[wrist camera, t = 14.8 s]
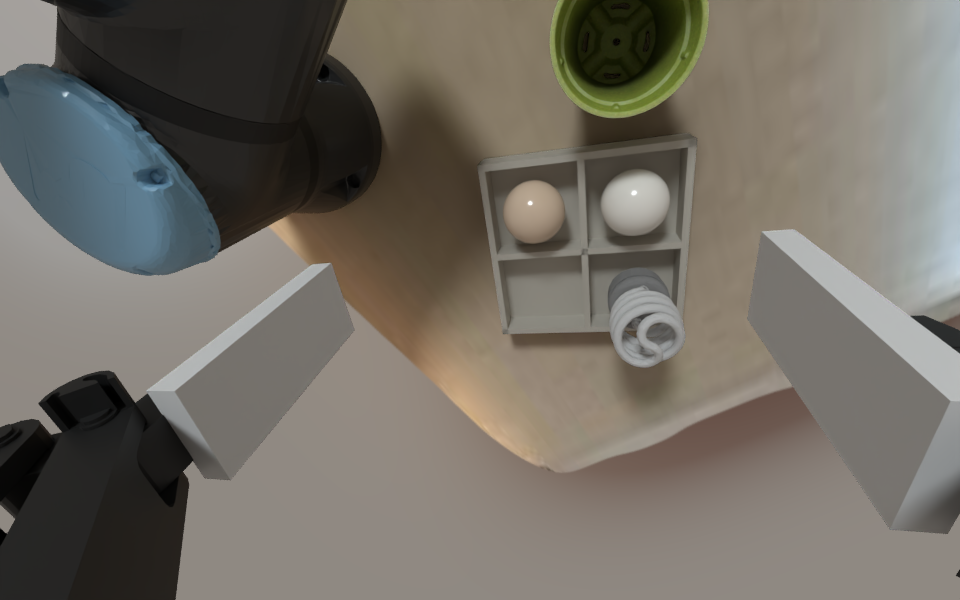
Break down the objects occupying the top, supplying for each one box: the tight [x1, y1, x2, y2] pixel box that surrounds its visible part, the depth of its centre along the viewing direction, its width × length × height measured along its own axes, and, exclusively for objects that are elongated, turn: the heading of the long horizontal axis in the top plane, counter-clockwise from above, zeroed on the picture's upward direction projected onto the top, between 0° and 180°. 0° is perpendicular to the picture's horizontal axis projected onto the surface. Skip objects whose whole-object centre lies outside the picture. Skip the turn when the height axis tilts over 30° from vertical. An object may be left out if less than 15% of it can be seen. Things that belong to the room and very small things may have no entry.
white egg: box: [600, 169, 670, 236], centre depth 36 cm, size 6×6×6 cm
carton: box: [477, 133, 697, 334], centre depth 40 cm, size 18×18×3 cm
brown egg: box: [503, 180, 565, 244], centre depth 38 cm, size 6×6×6 cm
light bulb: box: [608, 267, 685, 368], centre depth 37 cm, size 6×6×12 cm
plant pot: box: [550, 0, 709, 118], centre depth 30 cm, size 9×9×9 cm
